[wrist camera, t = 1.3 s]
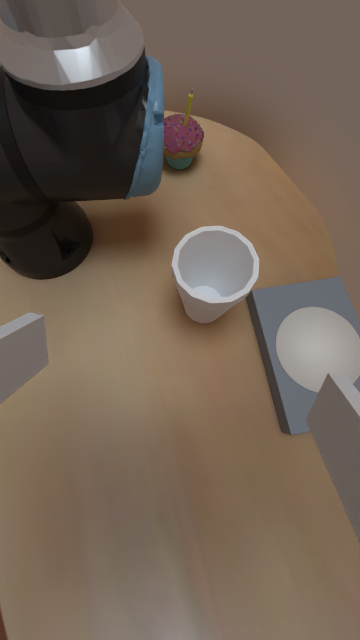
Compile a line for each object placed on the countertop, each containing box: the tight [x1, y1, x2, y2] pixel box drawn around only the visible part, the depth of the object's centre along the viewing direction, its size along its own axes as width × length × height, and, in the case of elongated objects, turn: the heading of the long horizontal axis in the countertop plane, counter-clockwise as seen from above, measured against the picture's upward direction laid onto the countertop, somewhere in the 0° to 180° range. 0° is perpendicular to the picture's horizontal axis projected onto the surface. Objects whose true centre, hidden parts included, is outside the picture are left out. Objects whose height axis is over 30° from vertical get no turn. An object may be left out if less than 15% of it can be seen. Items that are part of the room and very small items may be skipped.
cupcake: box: [163, 89, 204, 169], centre depth 41 cm, size 9×8×12 cm
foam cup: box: [172, 226, 259, 323], centre depth 32 cm, size 10×9×13 cm
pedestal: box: [246, 277, 360, 435], centre depth 35 cm, size 20×14×3 cm
